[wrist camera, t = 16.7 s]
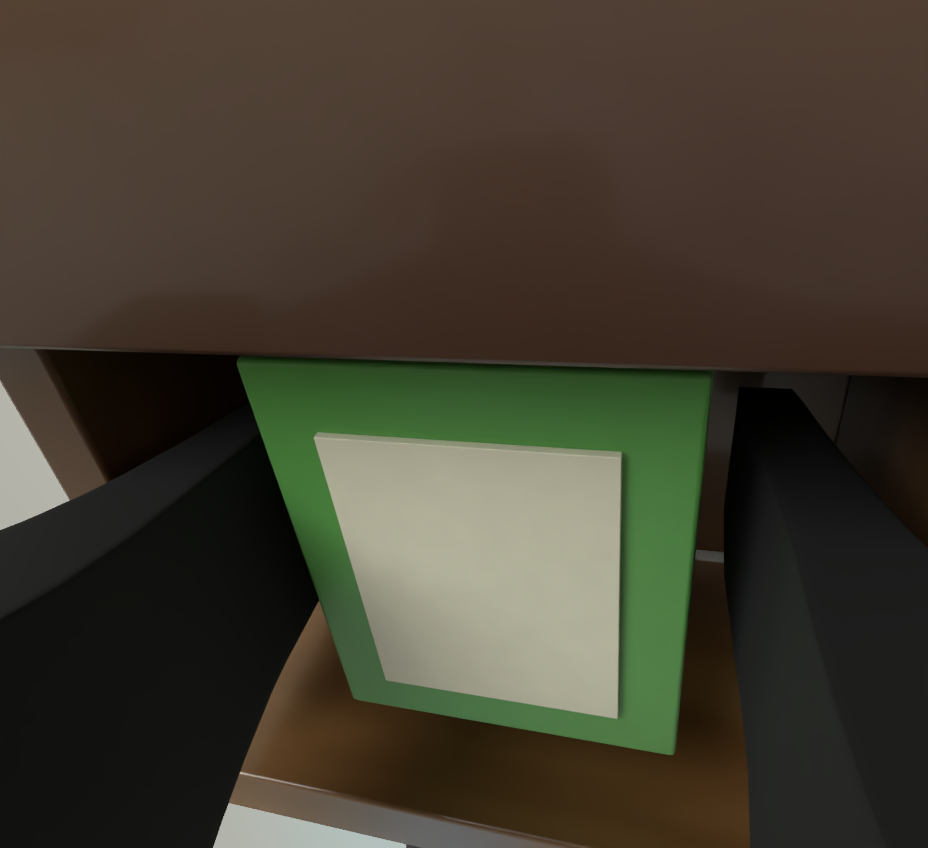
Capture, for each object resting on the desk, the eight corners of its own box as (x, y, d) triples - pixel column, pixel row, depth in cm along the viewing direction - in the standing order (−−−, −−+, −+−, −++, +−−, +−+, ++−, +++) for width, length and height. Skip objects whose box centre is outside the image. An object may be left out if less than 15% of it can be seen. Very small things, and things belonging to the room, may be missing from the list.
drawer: (819, 757, 17) (866, 1079, 12) (370, 681, 20) (274, 914, 15) (1195, -425, 6) (2707, -1387, 1) (94, -181, 9) (-493, -255, 5)
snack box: (707, 200, 9) (713, 384, 6) (681, 525, 12) (675, 765, 9) (382, 210, 10) (227, 365, 7) (436, 503, 13) (349, 707, 10)
